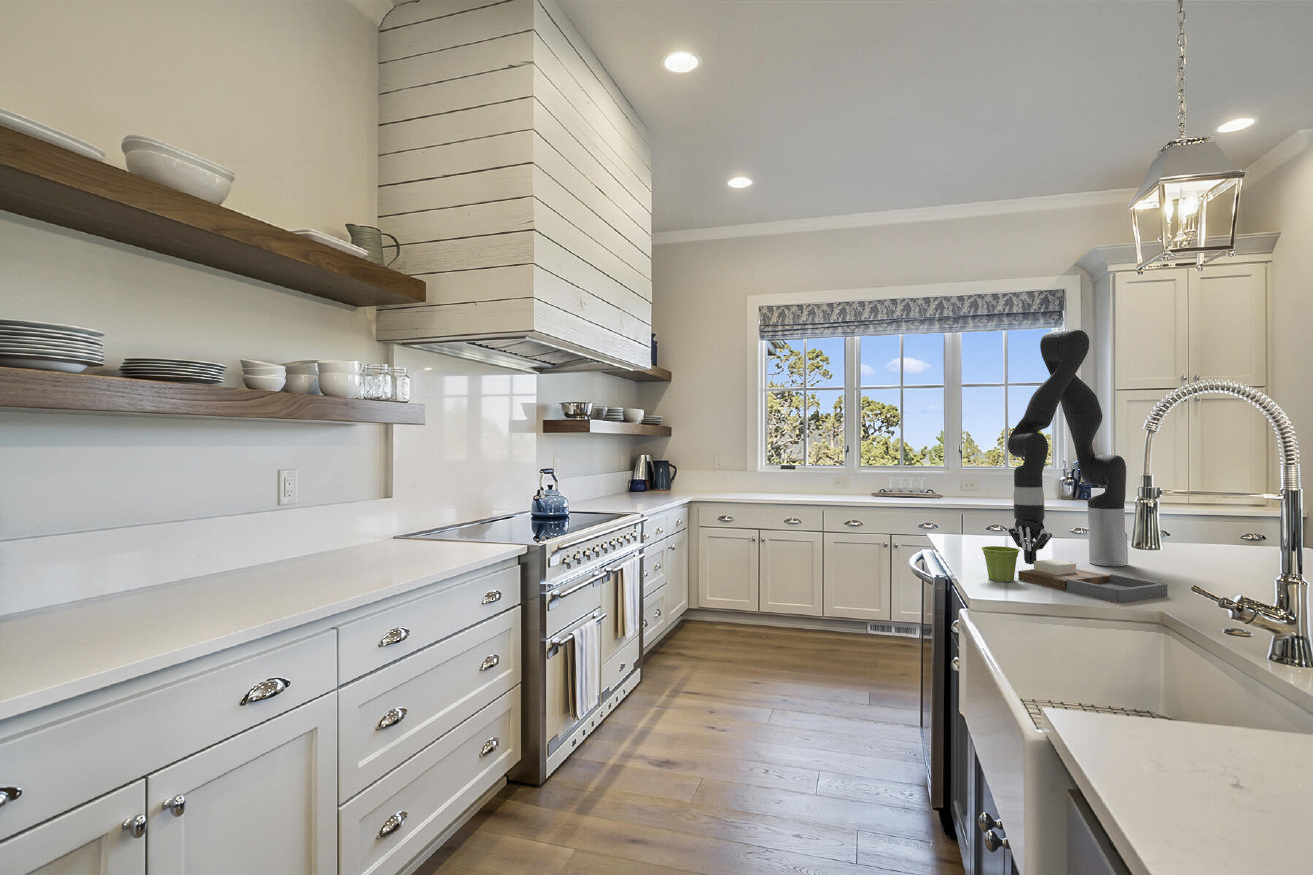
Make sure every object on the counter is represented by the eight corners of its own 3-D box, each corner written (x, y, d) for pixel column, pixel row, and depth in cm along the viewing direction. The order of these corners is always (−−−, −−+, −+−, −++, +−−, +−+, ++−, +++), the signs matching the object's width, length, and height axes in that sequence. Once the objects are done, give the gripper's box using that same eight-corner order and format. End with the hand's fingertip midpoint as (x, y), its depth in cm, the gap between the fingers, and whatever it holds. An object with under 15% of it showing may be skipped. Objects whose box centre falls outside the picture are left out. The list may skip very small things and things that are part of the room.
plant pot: (983, 575, 185) (982, 544, 185) (1021, 578, 180) (1020, 547, 180) (980, 581, 177) (980, 549, 177) (1020, 584, 172) (1019, 552, 172)
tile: (1052, 568, 180) (1052, 559, 180) (1076, 572, 174) (1076, 563, 174) (1033, 570, 178) (1033, 561, 178) (1056, 574, 172) (1056, 565, 172)
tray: (1112, 585, 169) (1111, 573, 169) (1167, 596, 156) (1167, 584, 156) (1066, 590, 164) (1065, 579, 164) (1120, 603, 151) (1119, 590, 151)
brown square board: (1061, 575, 183) (1061, 566, 183) (1110, 584, 170) (1110, 575, 170) (1018, 579, 178) (1018, 570, 178) (1065, 590, 164) (1065, 580, 164)
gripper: (1059, 504, 178) (1061, 566, 178) (1019, 500, 191) (1020, 558, 191) (1039, 505, 176) (1040, 569, 176) (999, 501, 189) (1000, 560, 188)
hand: (1030, 563), depth 183 cm, fingers closed
